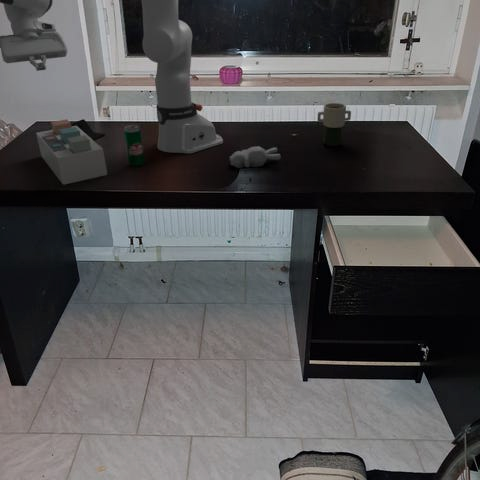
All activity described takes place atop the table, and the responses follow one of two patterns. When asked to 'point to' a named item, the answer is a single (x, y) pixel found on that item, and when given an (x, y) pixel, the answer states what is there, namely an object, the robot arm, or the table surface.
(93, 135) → the handheld gaming console
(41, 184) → the table surface
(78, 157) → the keypad
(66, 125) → the terracotta key
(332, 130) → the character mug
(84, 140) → the sage green key
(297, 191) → the table surface
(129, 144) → the soda can
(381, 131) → the table surface
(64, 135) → the teal key
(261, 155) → the bunny figurine
